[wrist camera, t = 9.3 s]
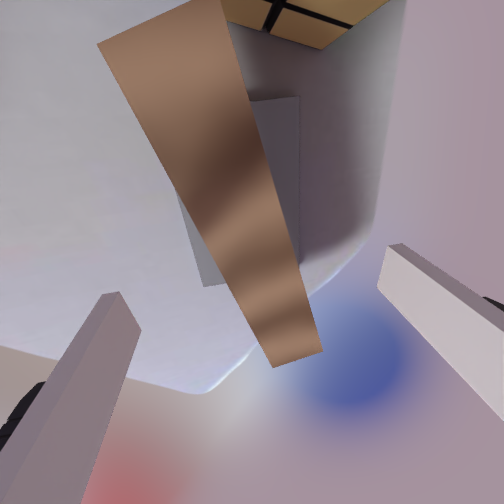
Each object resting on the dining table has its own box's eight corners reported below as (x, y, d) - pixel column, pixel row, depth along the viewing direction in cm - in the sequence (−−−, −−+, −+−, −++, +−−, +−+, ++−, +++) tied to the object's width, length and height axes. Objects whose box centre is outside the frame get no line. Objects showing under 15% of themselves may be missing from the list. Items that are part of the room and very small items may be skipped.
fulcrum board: (156, 114, 18) (131, 110, 13) (296, 97, 19) (324, 87, 14) (204, 281, 28) (200, 318, 22) (296, 266, 28) (313, 298, 23)
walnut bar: (135, 69, 12) (96, 44, 8) (217, 32, 12) (216, -11, 8) (264, 329, 25) (272, 368, 21) (306, 315, 24) (323, 351, 20)
